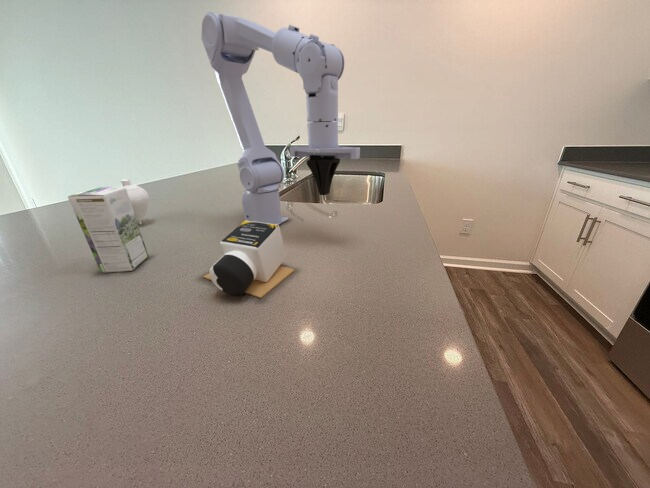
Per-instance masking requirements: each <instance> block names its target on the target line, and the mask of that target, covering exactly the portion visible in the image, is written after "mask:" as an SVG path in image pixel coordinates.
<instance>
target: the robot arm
mask: <svg viewBox="0 0 650 488" xmlns="http://www.w3.org/2000/svg"><path fill="white" fill-rule="evenodd" d="M200 35H201V37H200V38H201V39H200V40H201V42H202V45H203V47H204V50H205V53H206V55H207V56H206V57H207V58H208V62H209V64H210V66H211V68H212V69H213V70H214V74H215V77H216V81H217V84H218V86H219V89H220V91H221V94H222V98H223V100H224V102H225V106H226V108H227V111H228V114H229V115H230V119H231V122H232V124H233V128H234V130H235V133H236V135H237V138H238V141H239V144H240V147H241V149H242V154H241V156H240V157H239V159H238V160H237V162H236V165H237V167H238V172H239V179H240V183H241V185H242V186H243V188H244V189H245V190H244V191H243V193H242V194H241V195H242V196H241V205H242V210H243V216H244V221H254V222H262V223H270V224H277V225H279V226H280V225H281V224H283V223H286V222H287V221H289V217H286V216H282V208H281V199H280V198H281V197H280V190H279V189H280V188H281V187H282V186H281V184H282V183H283V182H284V179H285V170H284V168H283V165H282V164H281V162H280V161H279V159H278V157H277V155H276V153H275V152H274V151H272V150H271V149H270V148H268V147H266V145H265V142H264V140H263V136H262V133H261V130H260V127H259V125H258V122H257V118H256V115H255V113H254V110H253V107H252V104H251V102H250V99H249V96H248V92H247V89H246V87H245V84H244V81H243V75H245V74H247V73H248V70H249V68H250V66H251V63H252V61H253V59H254V56H255V54H256V52H257V51H259V50H260V49H262V50H265V51H267V52H270V53H272V57H273V59H274V61H275V62H276V63H277V64H278V65H279V66H282V67H284V68H286V69H288V70H290V71H292V72H294V73H296V74H298V75H299V77H300V78H301V80H302V87H303V90H304V92H305V103H306V104H305V105H306V122H307V143H308V144H307V145H293V146H290V147H289V154H290V155H289V156H290V157H291V158H295V157H301V158H308V159H307V160H306V165H307V167H308V168H309V170H310V172H311V174H312V176H313V178H314V181H315V183H316V186H317V191H318V194H319V195H320V196H327V195H329V194H330V192H331V185H332V183H333V179H334V176H335V173H336V171H337V168H338V167H339V164H340V162H341V159H345V160H346V159H347V160H348V159H350V160H359V159H360V158H361V147H355V146H342V145H340V146H339V80H340V79H341V77H342V76H343V73H344V70H345V57H344V53H343V51H342V50H341V49H340V48H339V47H337V45H335V44H334V43H327V42H324V41H321V40H320V37H319V36H318V35H316V34H313V33H310V34H309V35H307V34H304V33H302V32H300V27H298V26H295V25H293V24H289V25H288V27H280V28H279V29H278V30H277V31H274V30H272V29H270V28H268V27H266V26H263V25H262V24H259V23H257V22H255V21H253V20H252V21H251V20H250V19H249V20H248V19H246V18H244V17H240V16H239V17H238V16H234V15H231V14H224V13H218V14H217V13H216V12H213V11H207V12H206V13H205V15H204V16H203V19H202V22H201V34H200Z"/></svg>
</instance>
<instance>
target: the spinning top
mask: <svg viewBox="0 0 650 488" xmlns="http://www.w3.org/2000/svg"><path fill="white" fill-rule="evenodd" d="M120 183H121V186H120V187H123V188H126V190H127V193H128V196H129V199H130V202H131V205H132V208H133V211H134V214H135V217H136V220H137V222H138V224H139V225H142V224H143V223H142V221H143V219H144V217H145V216H146V213H147V211H148V208H149V205H150V200H151V199H150V195H149V193H148V192H147V190H145V189H144V188H142V187H141V186H140V185H135V184H132V182H131V180H130V179H121V180H120Z"/></svg>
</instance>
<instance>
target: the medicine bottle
mask: <svg viewBox="0 0 650 488" xmlns="http://www.w3.org/2000/svg"><path fill="white" fill-rule="evenodd" d="M219 245H220V248H221V250H222V253H223V256H221V257H220V258H219V259H218V260H217V261H216V262H215V263H214V264H213V265H212V266H211V267H210V268H209V273H210V278H211V280H212V281H211V280H210V281H211V282H212V284H214V285H215V287H216V288H217V289H219V290H220V291H221V292H224V293H225V294H226V295H229V296H236V297H238V296H241V295H243V294H245V293H244V292H245V290H246V289H247V288H248V287H249V285H250V284H251V283H252V282H253V281H254V280H258V281H263V282H267V281H268V280H269V279H270V278H271V276H272V275H273V274H274V272H275V271H276V270H277V268H278V267H279V266H281V264H282V263H283V262H284V260H285V259H286V258H287V253H286V249H285V245H284V241H283V235H282V231H281V227H280V224H279V225H277V224H270V223H262V222H254V221H245V220H244V221H242V222H241V223H240V224H239V225H237V227H235V228H234V229H233V230H231V232H230V233H228V234H227V236H225V237H224V238H223V239H221V241H220V242H219Z"/></svg>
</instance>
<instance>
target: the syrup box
mask: <svg viewBox="0 0 650 488" xmlns="http://www.w3.org/2000/svg"><path fill="white" fill-rule="evenodd" d="M67 199H68V202H69V203H70V206H71V208H72V211H73V212H74V215H75V217H76V220H77V221H78V224H79V226H80V228H81V231H82V233H83V235H84V237H85V240H86V243H87V244H88V247H89V248H90V251H91V253H92V256H93V258H94V260H95V262H96V265H97V267H98V269H99V271H100V273H104V274H105V273H119V272H120V273H121V272H122V273H123V272H132V271H134V270H135V269H136V268H138V267H139V266H140V265H141V264H142V263H144V262H145V261H146V260H147V259H148V258H149V253H148V250H147V247H146V245H145V241H144V238H143V235H142V232H141V229H140V226H139V222H138V221H137V220H136V217H135V214H134V211H133V208H132V205H131V202H130V199H129V196H128V193H127V190H126V188H123V187H121V186H97V187H92V188H89V189H86V190H83V191H81V192H80V191H79V192H77V193H73V194H70V195H68V196H67Z"/></svg>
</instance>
